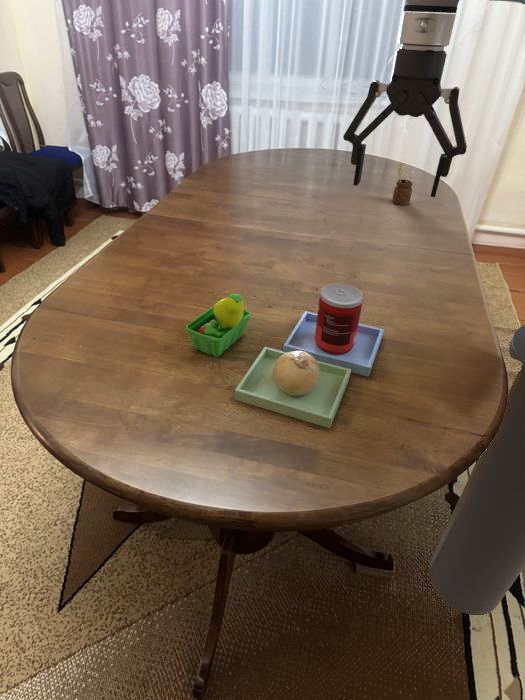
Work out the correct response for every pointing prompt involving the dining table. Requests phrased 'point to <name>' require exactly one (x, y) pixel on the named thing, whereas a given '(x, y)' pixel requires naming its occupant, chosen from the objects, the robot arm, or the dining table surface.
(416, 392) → the dining table surface
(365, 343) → the blue tray
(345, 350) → the canned food
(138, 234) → the dining table surface
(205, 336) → the fruit basket
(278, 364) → the onion
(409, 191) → the utensil holder
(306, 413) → the green tray
